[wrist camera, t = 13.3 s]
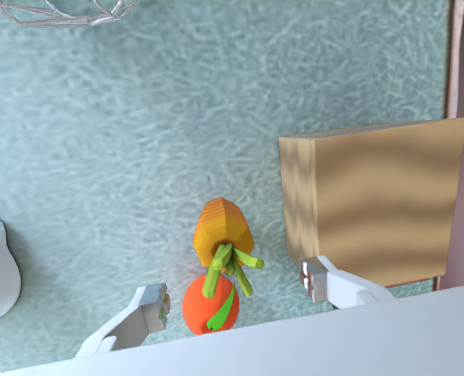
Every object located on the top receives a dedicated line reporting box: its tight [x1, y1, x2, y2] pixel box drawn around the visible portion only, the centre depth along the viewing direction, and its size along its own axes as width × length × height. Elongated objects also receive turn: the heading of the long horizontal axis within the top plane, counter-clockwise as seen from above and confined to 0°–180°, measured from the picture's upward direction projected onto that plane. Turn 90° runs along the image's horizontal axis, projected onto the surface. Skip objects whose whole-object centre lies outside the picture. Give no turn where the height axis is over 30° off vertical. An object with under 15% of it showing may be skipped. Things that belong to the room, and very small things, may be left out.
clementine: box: [183, 275, 239, 335], centre depth 26 cm, size 8×7×7 cm
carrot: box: [193, 197, 264, 299], centre depth 20 cm, size 5×5×15 cm
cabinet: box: [278, 118, 464, 287], centre depth 24 cm, size 15×13×9 cm
